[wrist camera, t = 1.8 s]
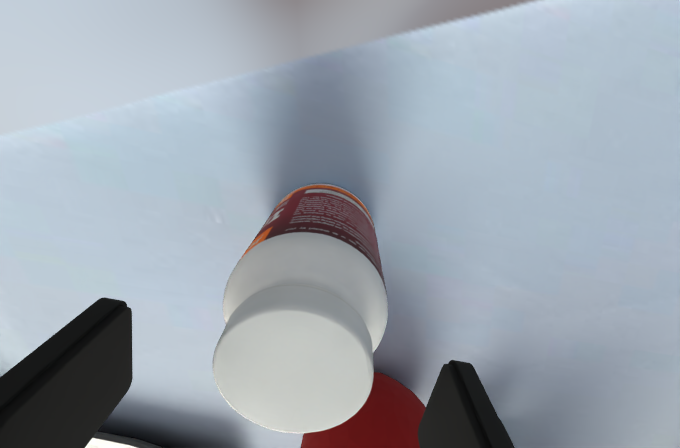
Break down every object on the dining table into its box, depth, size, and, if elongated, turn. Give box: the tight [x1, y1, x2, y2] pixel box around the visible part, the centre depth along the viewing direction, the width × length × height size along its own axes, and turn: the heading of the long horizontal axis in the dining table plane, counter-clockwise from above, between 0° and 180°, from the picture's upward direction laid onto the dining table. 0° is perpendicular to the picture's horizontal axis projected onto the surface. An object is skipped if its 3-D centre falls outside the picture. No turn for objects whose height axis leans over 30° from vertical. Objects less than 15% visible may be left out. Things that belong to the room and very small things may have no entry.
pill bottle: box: [213, 184, 388, 433], centre depth 14 cm, size 6×6×11 cm
